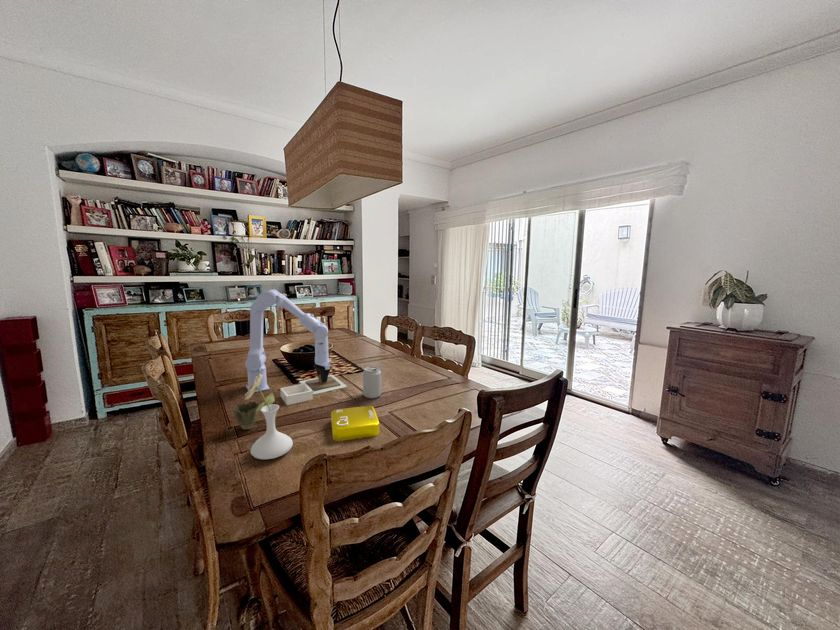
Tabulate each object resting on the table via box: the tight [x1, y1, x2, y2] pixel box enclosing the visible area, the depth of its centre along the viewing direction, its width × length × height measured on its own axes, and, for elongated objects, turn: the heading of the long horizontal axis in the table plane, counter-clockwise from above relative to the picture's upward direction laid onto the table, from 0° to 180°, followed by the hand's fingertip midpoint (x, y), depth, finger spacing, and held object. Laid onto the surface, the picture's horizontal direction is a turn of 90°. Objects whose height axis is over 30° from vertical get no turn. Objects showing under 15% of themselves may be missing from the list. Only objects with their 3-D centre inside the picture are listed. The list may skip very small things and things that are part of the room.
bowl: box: [279, 383, 314, 406], centre depth 132 cm, size 10×10×4 cm
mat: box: [299, 374, 348, 395], centre depth 148 cm, size 18×16×1 cm
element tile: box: [330, 405, 380, 442], centre depth 111 cm, size 15×15×5 cm
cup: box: [232, 400, 260, 431], centre depth 108 cm, size 8×7×8 cm
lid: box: [305, 375, 341, 391], centre depth 147 cm, size 12×12×4 cm
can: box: [362, 366, 382, 399], centre depth 136 cm, size 8×8×12 cm
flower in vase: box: [244, 374, 294, 460], centre depth 93 cm, size 13×11×25 cm
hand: (322, 380), depth 147 cm, fingers closed on lid, 4 cm apart
